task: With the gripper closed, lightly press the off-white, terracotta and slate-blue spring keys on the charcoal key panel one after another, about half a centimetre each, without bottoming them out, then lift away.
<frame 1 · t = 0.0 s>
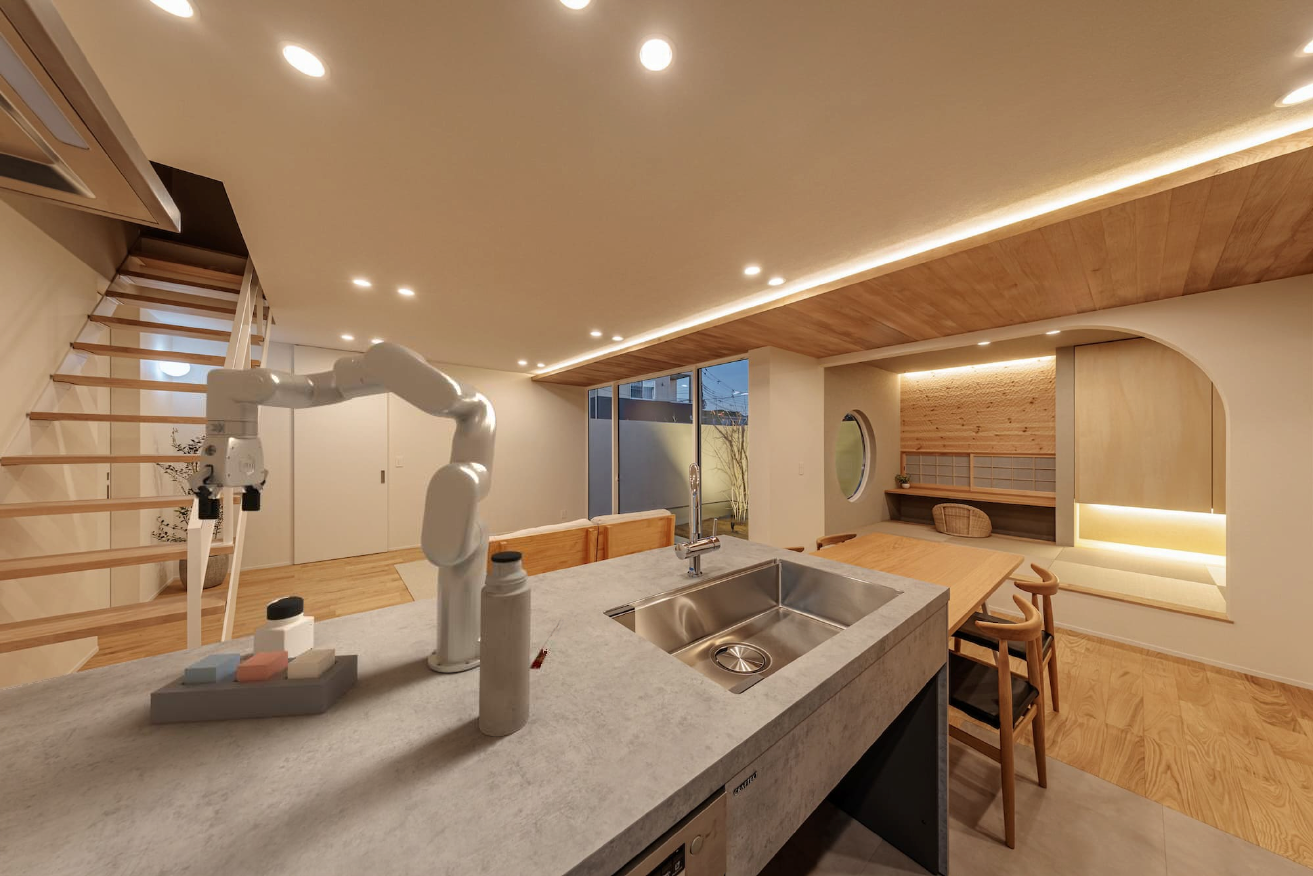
hand: (231, 514, 86), 31 cm above the counter, tool pointing down, fingers open, 9 cm apart
key panel: (262, 700, 76), on the counter
slate-blue key: (213, 670, 75), point 6 cm above the counter, slide at 0.0 cm
thermos bottle: (504, 721, 71), on the counter
off-white key: (312, 665, 77), point 6 cm above the counter, slide at 0.0 cm
terracotta key: (263, 668, 76), point 6 cm above the counter, slide at 0.0 cm
red handled knife: (549, 643, 99), on the counter
medicine bottle: (284, 655, 92), on the counter
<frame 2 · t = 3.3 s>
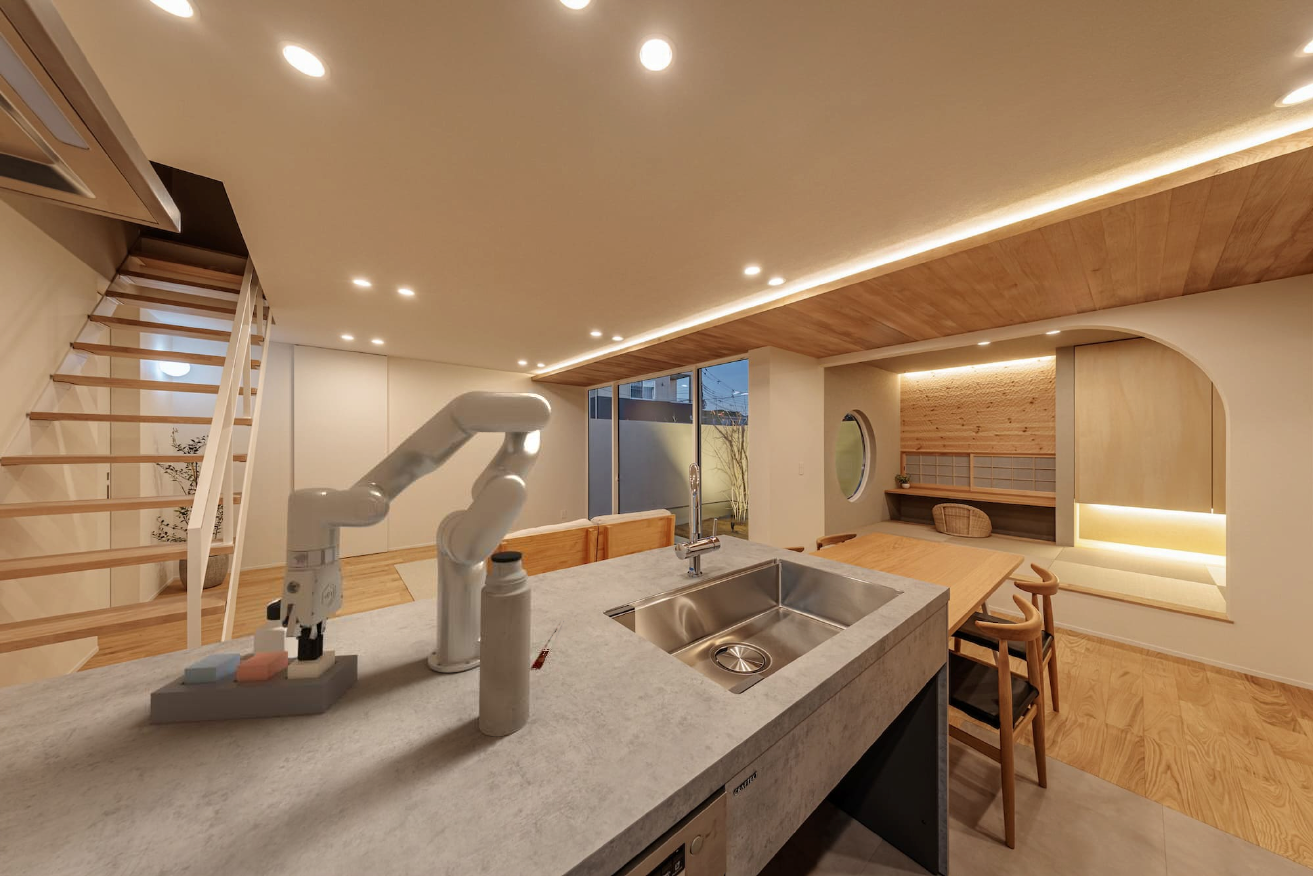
hand: (310, 658, 77), 7 cm above the counter, tool pointing down, fingers closed
off-white key: (312, 667, 77), point 5 cm above the counter, slide at 0.3 cm, touching gripper
everything else where it was.
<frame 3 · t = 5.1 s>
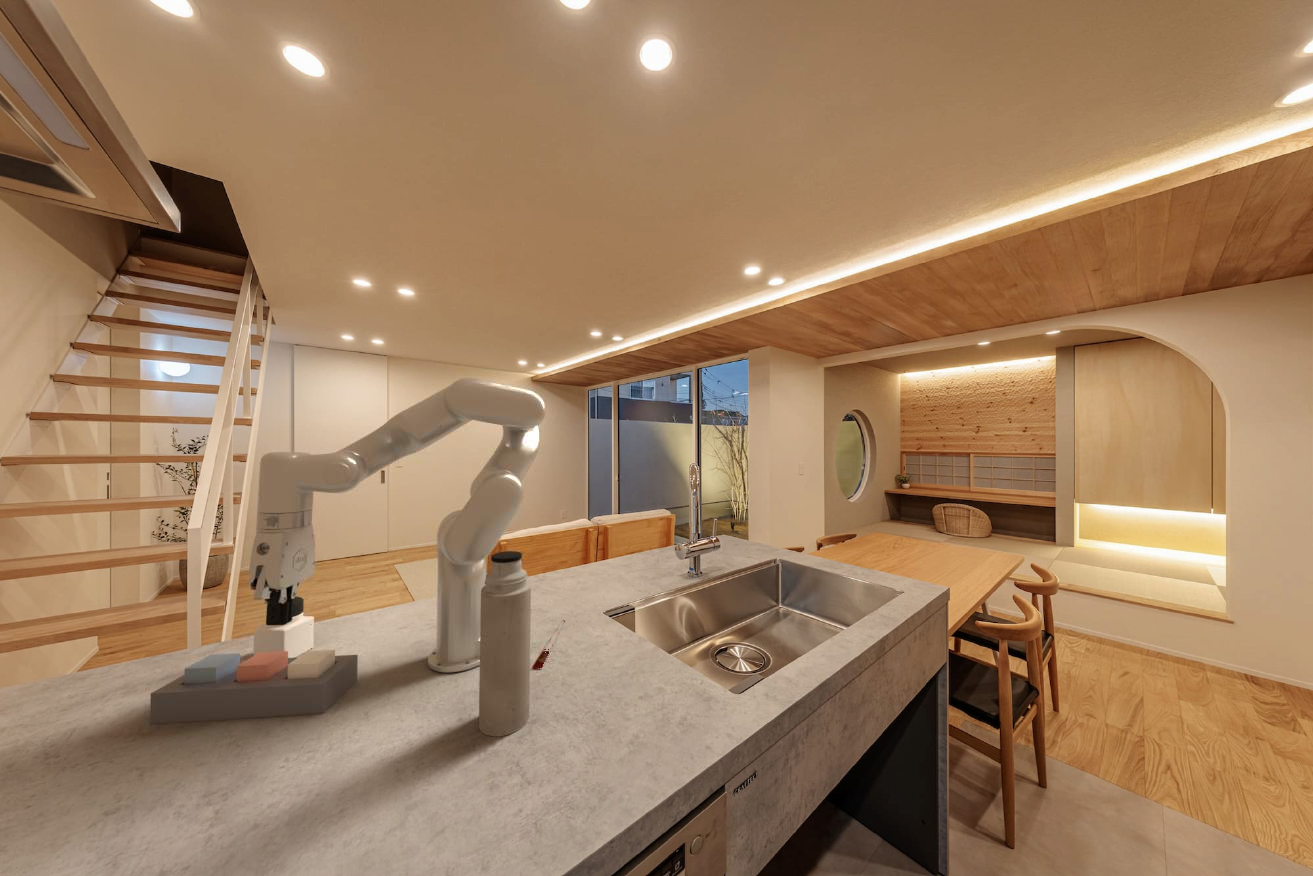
hand: (279, 623, 76), 14 cm above the counter, tool pointing down, fingers closed
off-white key: (312, 666, 77), point 6 cm above the counter, slide at 0.2 cm
everything else where it was.
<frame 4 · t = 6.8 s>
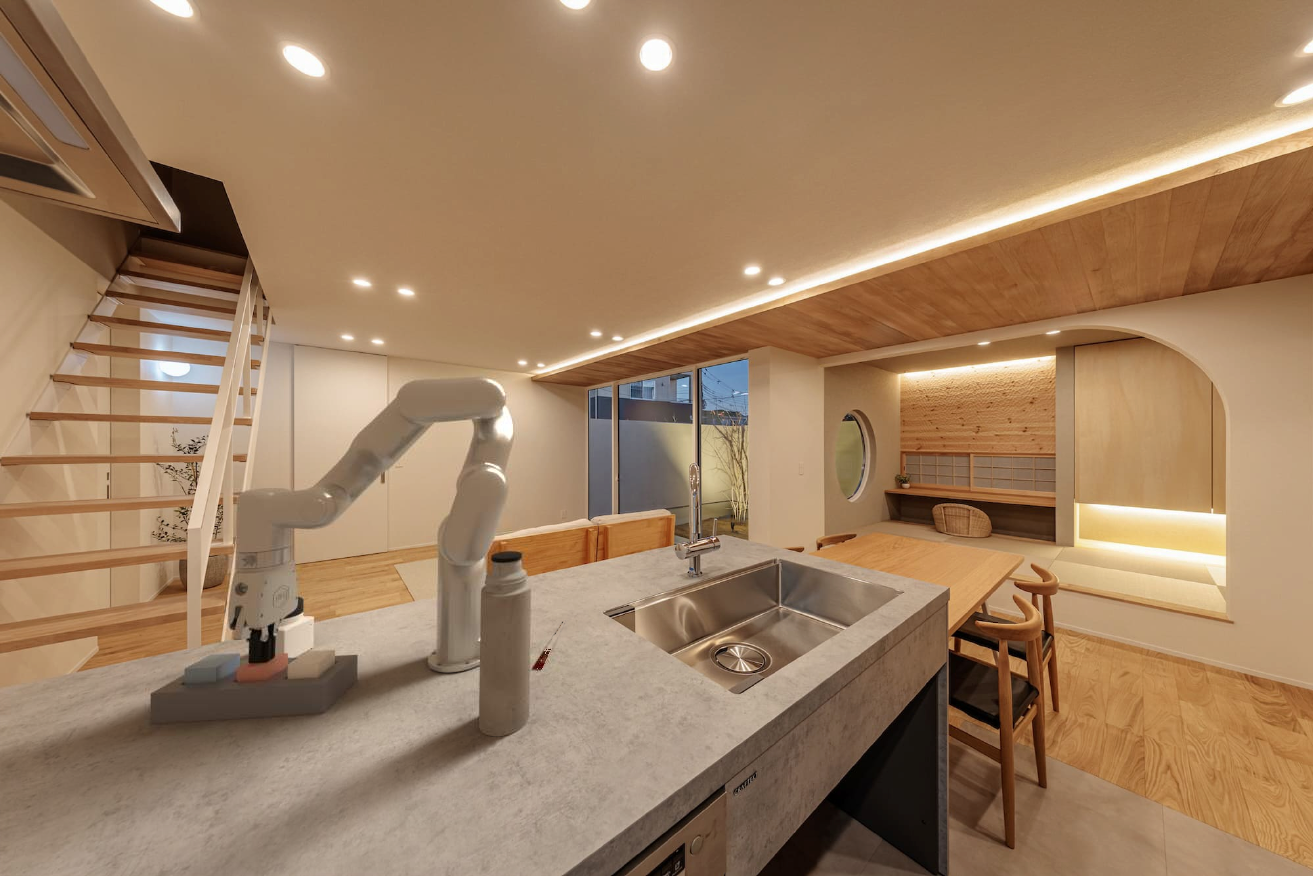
hand: (261, 660, 76), 7 cm above the counter, tool pointing down, fingers closed
terracotta key: (263, 670, 76), point 5 cm above the counter, slide at 0.4 cm, touching gripper
everything else where it was.
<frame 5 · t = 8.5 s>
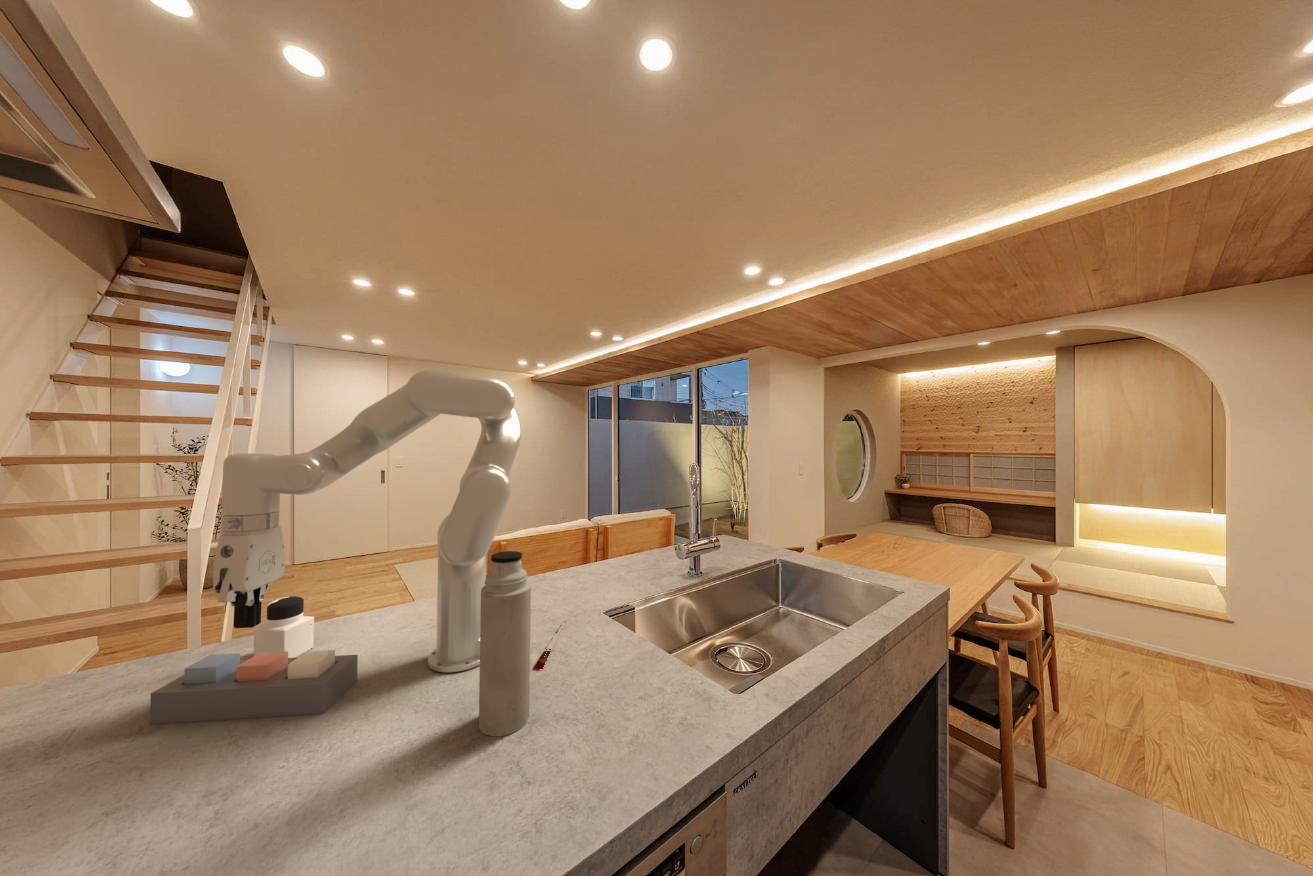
hand: (247, 625, 75), 13 cm above the counter, tool pointing down, fingers closed
terracotta key: (263, 668, 76), point 6 cm above the counter, slide at 0.1 cm
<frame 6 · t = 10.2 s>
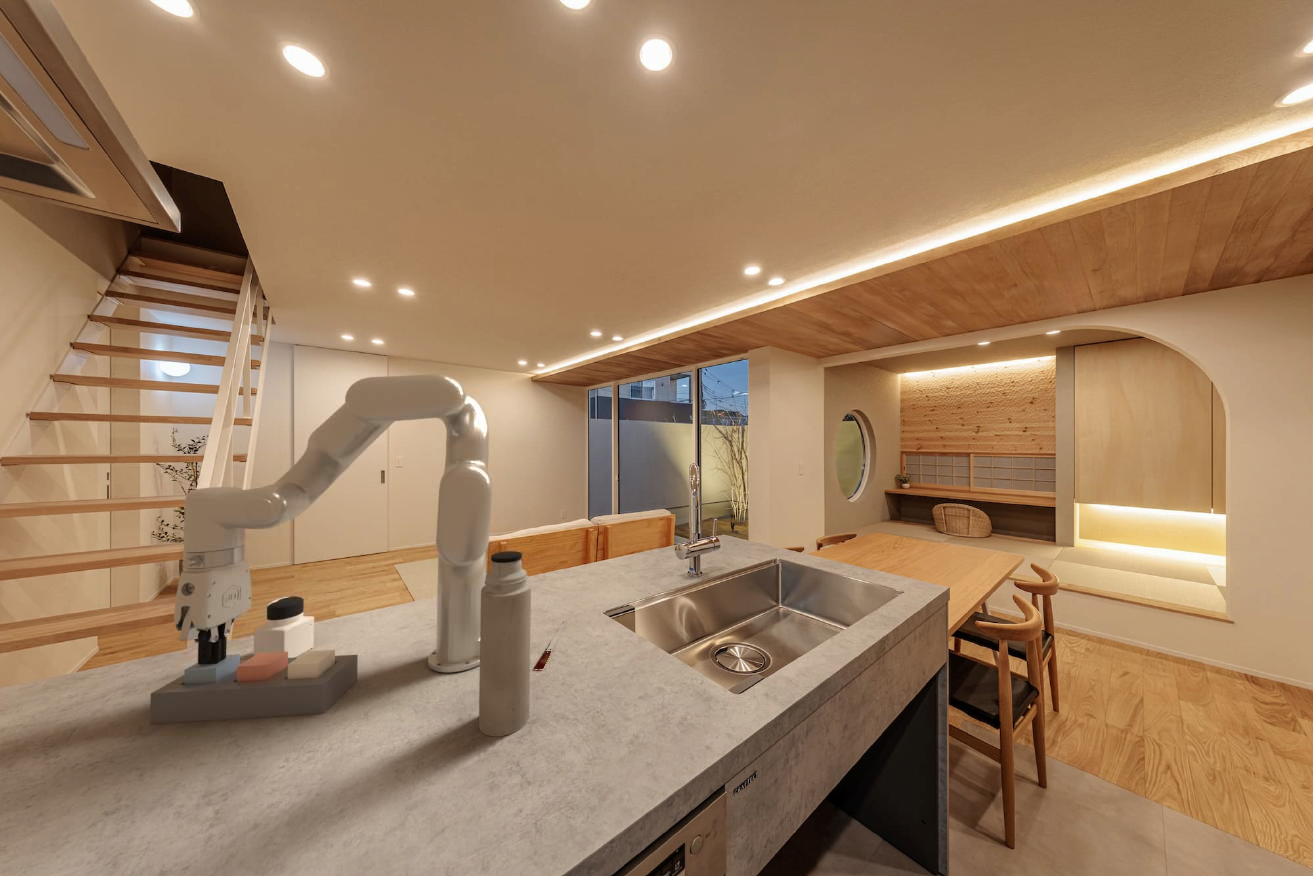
hand: (212, 661, 75), 7 cm above the counter, tool pointing down, fingers closed
slate-blue key: (213, 671, 75), point 6 cm above the counter, slide at 0.2 cm, touching gripper
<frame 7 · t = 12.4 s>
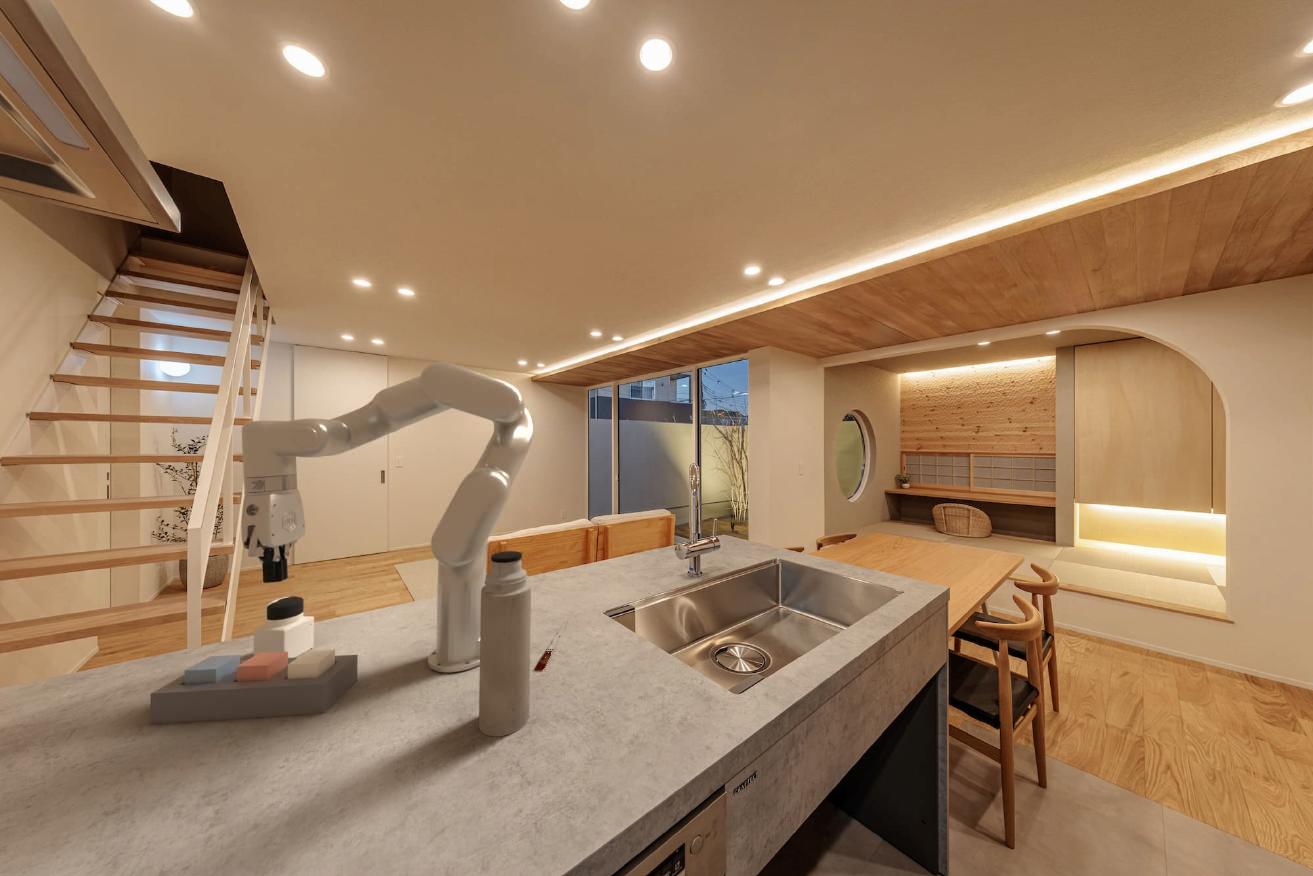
hand: (275, 580, 81), 20 cm above the counter, tool pointing down, fingers closed
slate-blue key: (213, 672, 75), point 5 cm above the counter, slide at 0.3 cm
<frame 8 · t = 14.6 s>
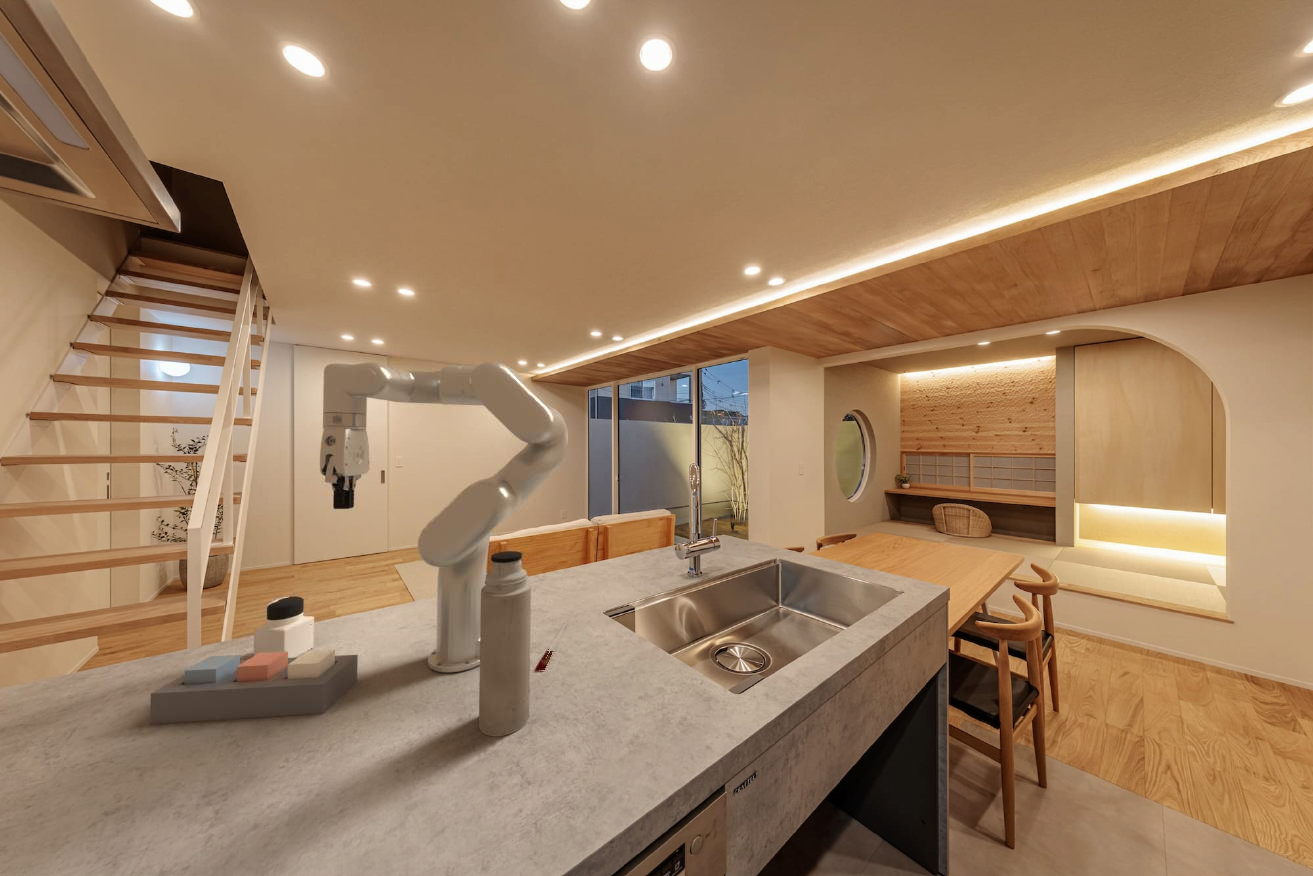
hand: (343, 508, 90), 32 cm above the counter, tool pointing down, fingers closed
at the end: off-white key slide at 0.2 cm; terracotta key slide at 0.1 cm; slate-blue key slide at 0.3 cm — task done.
